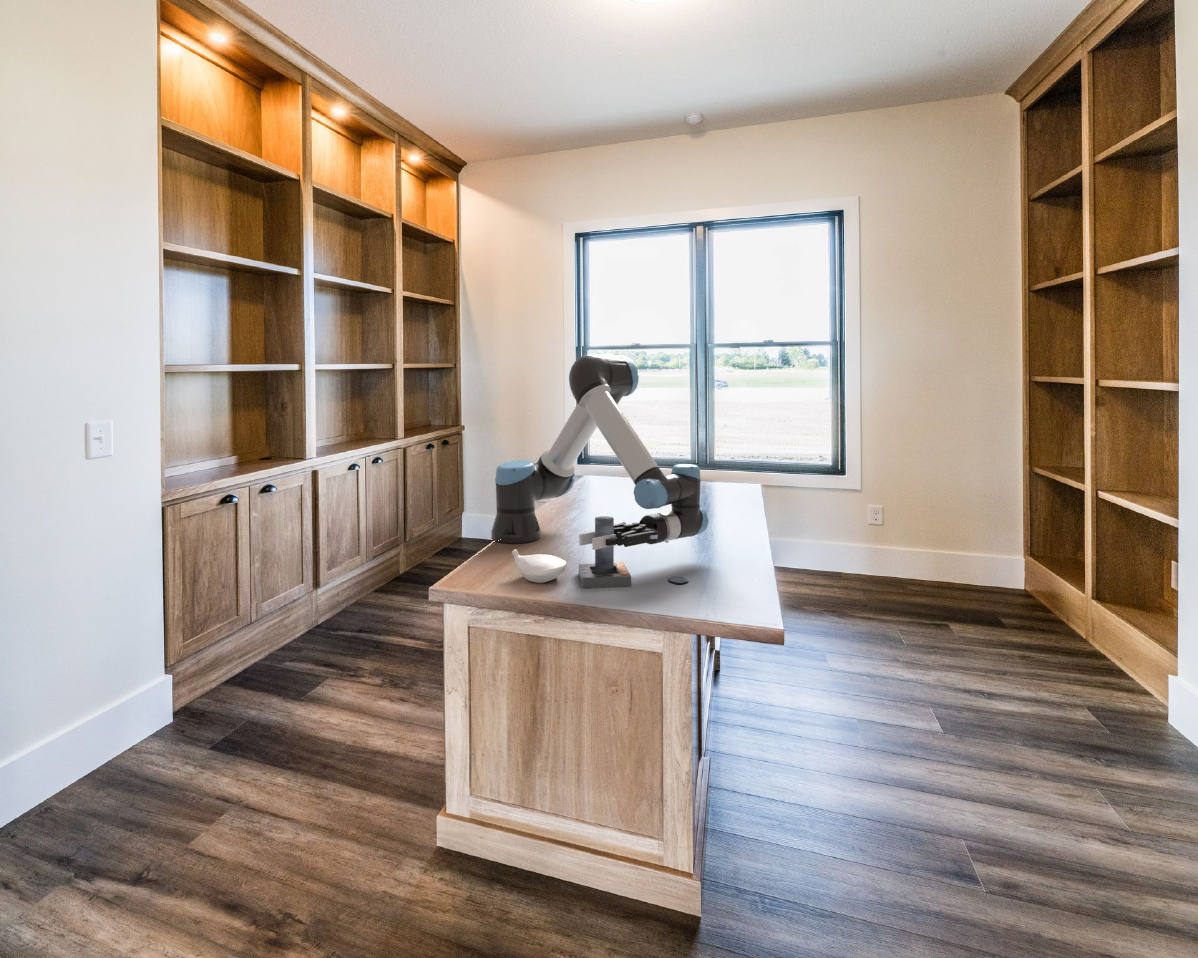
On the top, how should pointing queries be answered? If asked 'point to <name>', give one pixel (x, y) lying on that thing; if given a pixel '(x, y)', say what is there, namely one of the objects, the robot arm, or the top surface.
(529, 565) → the driver head
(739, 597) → the top surface
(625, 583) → the socket block
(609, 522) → the peg
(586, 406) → the robot arm
